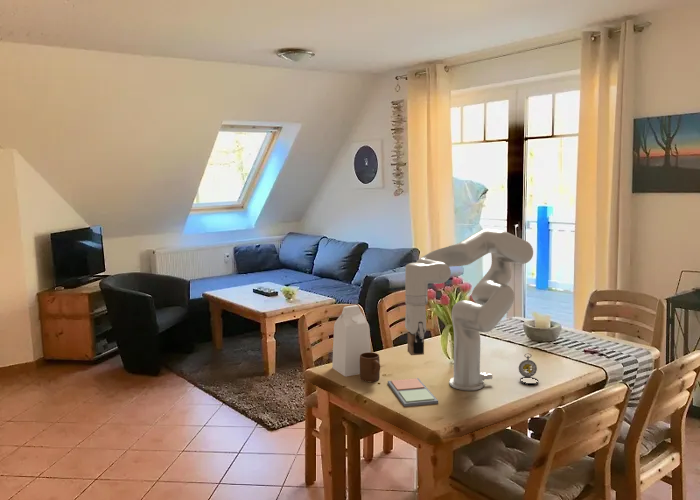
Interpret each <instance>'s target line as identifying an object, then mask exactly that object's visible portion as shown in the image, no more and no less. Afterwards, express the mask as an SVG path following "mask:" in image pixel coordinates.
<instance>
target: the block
mask: <svg viewBox="0 0 700 500" xmlns="http://www.w3.org/2000/svg"><path fill="white" fill-rule="evenodd" d="M416 333H419V331H417V332H416ZM417 336H419V335H417ZM414 342H415V340H414V334H411V333H410V332H409V331H407V353H408V354H409V355H410V356H421V355H425V337H424V338H423V353H418V354H414Z"/></svg>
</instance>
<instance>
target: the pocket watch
mask: <svg viewBox="0 0 700 500" xmlns="http://www.w3.org/2000/svg"><path fill="white" fill-rule="evenodd" d="M526 355H527V356H526ZM529 355H530V356H529ZM524 357H525V358H526V359H523V360H522V361H521V362H520V363H519V366H518V373H519V374H521V376H523V377H520V378H519V382H520V381H521V379H523V378H532V379H535V380H537V381H538V382H536V383H526V382H523V381H521V382H520V383H522V384H524V383H525V384H524V385H528V384H535V385H537V383H539V379H538V378H536V377H534V376H535V375H536V373H537V371H538V367H537V364H536V362H534V361H533V360H531V359H530V358H532V354H531V353H527V352H526V353H525V354H524Z"/></svg>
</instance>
